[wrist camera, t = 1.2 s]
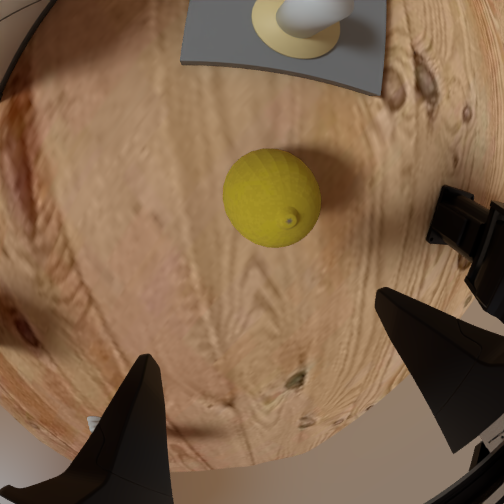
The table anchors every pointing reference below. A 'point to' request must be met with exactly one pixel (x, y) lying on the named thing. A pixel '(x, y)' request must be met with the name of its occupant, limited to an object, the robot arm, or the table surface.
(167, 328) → the table surface
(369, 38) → the board
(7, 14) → the lantern
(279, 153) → the lemon
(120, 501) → the robot arm
